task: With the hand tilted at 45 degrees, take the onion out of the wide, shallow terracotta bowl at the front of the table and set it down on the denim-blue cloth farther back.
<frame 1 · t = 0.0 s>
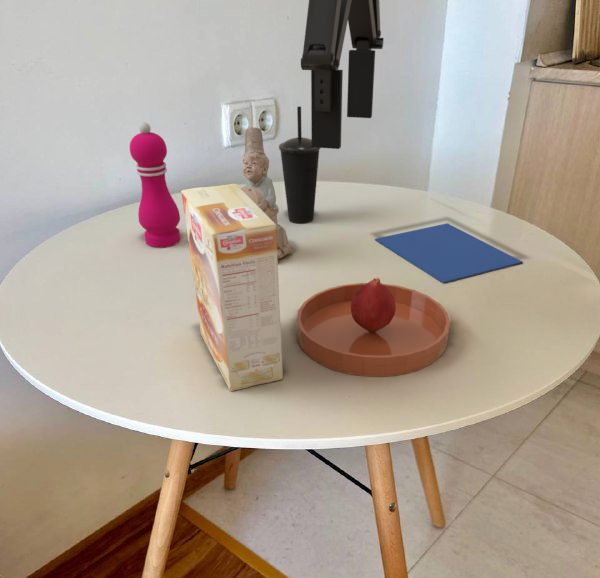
hand: (344, 131, 62), 26 cm above the table, tool pointing down, fingers open, 13 cm apart
coffeecake box: (239, 356, 76), on the table
pepper mill: (163, 242, 108), on the table
bowl: (371, 334, 80), on the table
blue cloth: (445, 251, 102), on the table
onion: (371, 333, 80), resting on bowl
figurine: (266, 256, 102), on the table
drinking cup: (300, 220, 116), on the table
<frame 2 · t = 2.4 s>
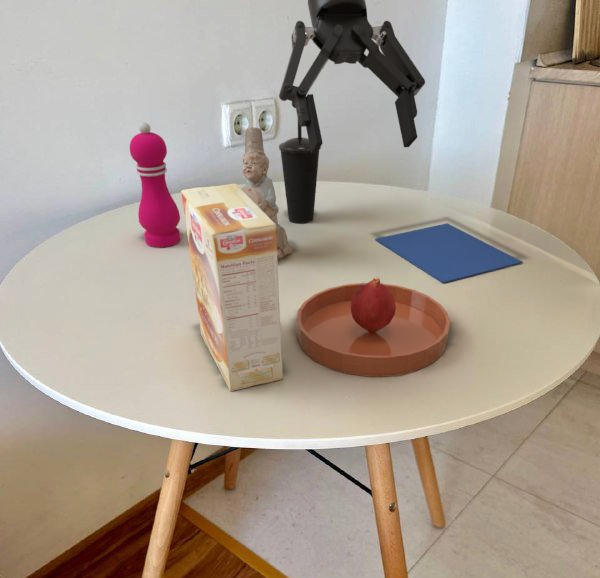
hand: (364, 145, 79), 21 cm above the table, tool tilted 40°, fingers open, 13 cm apart
nothing on the table moved.
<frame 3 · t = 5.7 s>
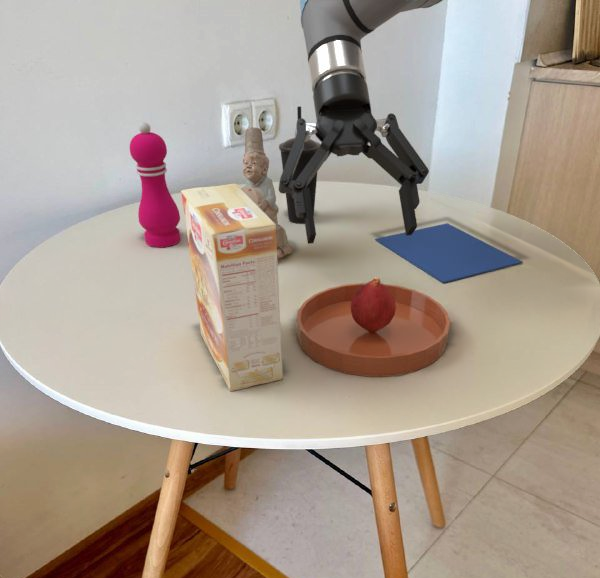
hand: (362, 235, 78), 11 cm above the table, tool tilted 45°, fingers open, 13 cm apart
nothing on the table moved.
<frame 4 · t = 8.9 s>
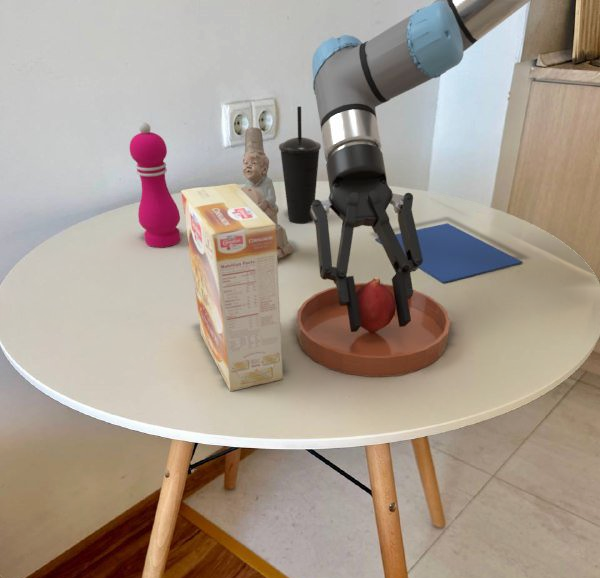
hand: (380, 326, 75), 3 cm above the table, tool tilted 45°, fingers closed on onion, 6 cm apart
onion: (371, 333, 80), resting on bowl, touching gripper
everything else where it was.
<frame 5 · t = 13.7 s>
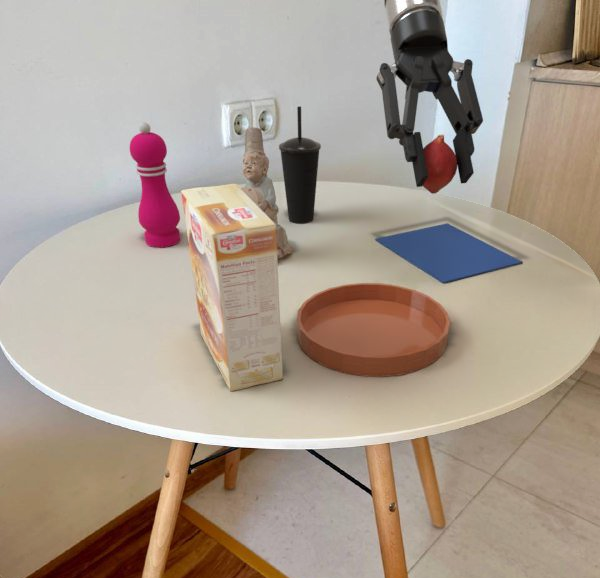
hand: (444, 179, 81), 16 cm above the table, tool tilted 45°, fingers closed on onion, 6 cm apart
onion: (432, 194, 86), point 13 cm above the table, touching gripper
everything else where it was.
when the fingers open (3 cm above the table, at t = 19.0 s): onion stays where it is, resting on blue cloth.
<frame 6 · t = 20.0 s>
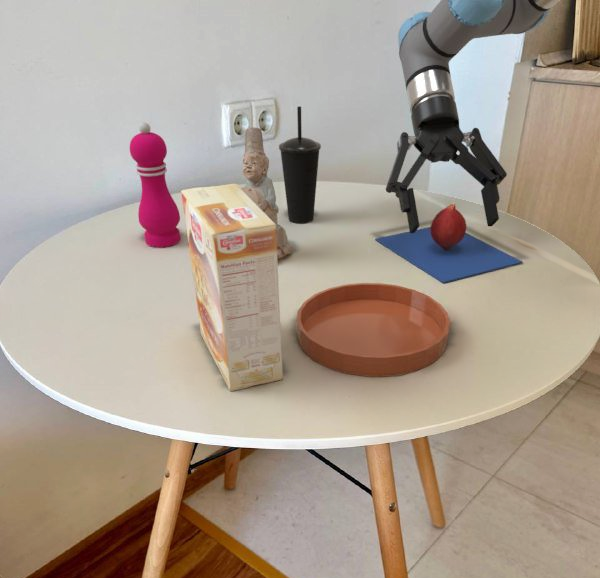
hand: (454, 226, 97), 5 cm above the table, tool tilted 45°, fingers open, 13 cm apart
onion: (445, 250, 102), resting on blue cloth
everything else where it was.
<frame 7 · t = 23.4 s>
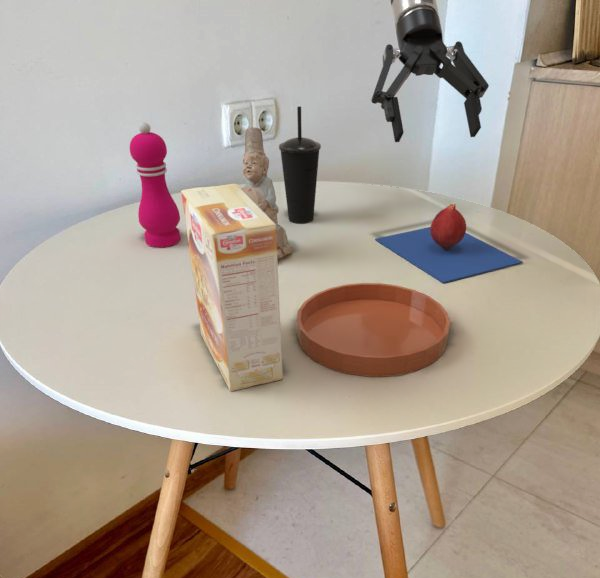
hand: (437, 135, 100), 16 cm above the table, tool tilted 45°, fingers open, 13 cm apart
nothing on the table moved.
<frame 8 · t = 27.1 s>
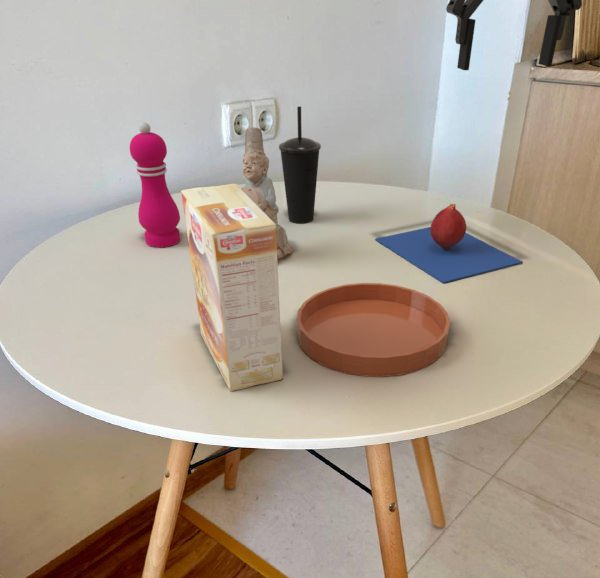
hand: (504, 67, 92), 27 cm above the table, tool pointing down, fingers open, 13 cm apart
nothing on the table moved.
at the end: onion inside the target area on the blue cloth (0.1 cm from its centre), point 0.1 cm above the blue cloth's base; onion touching blue cloth; the gripper is holding nothing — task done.
